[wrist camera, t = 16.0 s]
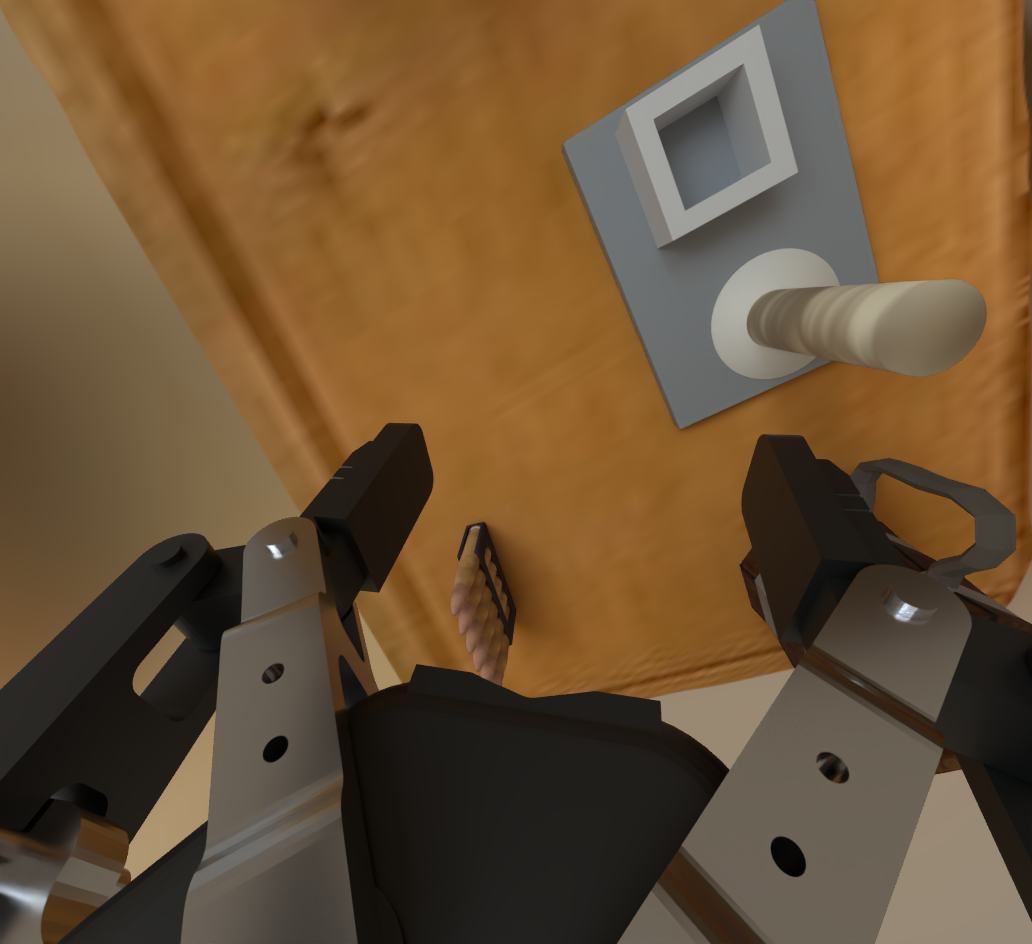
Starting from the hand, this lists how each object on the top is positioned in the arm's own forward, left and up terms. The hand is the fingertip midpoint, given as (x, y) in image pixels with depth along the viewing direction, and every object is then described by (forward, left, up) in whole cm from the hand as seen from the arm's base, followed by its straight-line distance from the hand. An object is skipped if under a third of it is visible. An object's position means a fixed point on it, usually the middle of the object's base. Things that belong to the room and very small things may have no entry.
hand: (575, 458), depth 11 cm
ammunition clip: (+16, -15, -27) cm, 34 cm away
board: (-1, +14, -26) cm, 30 cm away
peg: (+5, +15, -25) cm, 29 cm away
